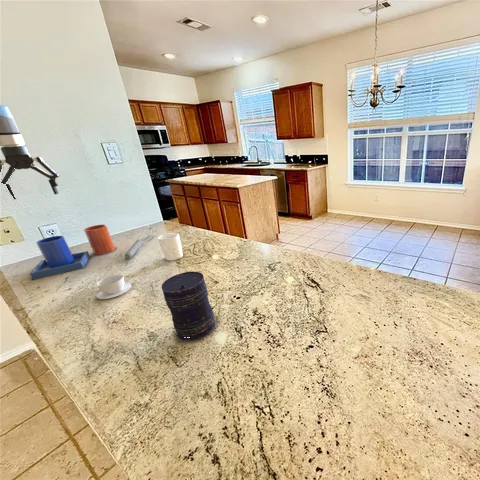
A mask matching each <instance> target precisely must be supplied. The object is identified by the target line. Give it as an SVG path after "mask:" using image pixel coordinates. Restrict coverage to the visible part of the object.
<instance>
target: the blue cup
mask: <svg viewBox="0 0 480 480" xmlns="http://www.w3.org/2000/svg"><path fill="white" fill-rule="evenodd" d="M36 245H37V247H38V249H39V251H40V253H41V255H42V257H43V260H45V261H46V263H47V264H48V266H49V268H55V267H60V266H64V265H69V264H74V263H75V260H74V258H73V256H72V254H73V253H72V252H71V249H70V247H69V245H68V243H67V241H66V238H65V237H64V235H54V236H49V237H45V238H42V239H39V240H38V241H36Z"/></svg>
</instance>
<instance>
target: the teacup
mask: <svg viewBox="0 0 480 480" xmlns="http://www.w3.org/2000/svg"><path fill="white" fill-rule="evenodd" d="M96 286H97V288H98V290H99V291H98V292H97V294H96V295H95V297H96V299H99V300H108V299H114V298H115V297H118V296H121V295H123V294H125V293H126V292H128V291H129V290H130V289H131V288H132V283H130V282H125V278H124V275H123V274H112V275H108V276H106V277H103V278H101V279H100V280H98V281H97V282H96Z"/></svg>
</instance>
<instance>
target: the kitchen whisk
mask: <svg viewBox="0 0 480 480" xmlns="http://www.w3.org/2000/svg"><path fill="white" fill-rule="evenodd" d="M147 228H148V229H149V230H150V231H149V232H148V234H151V232H152V233H154V232H153V231H155V233H157V232H156V230H153V229H154V226H153V227H152V226H151V224H149V225H147ZM144 230H145V229H144ZM146 232H147V229H146V230H145V231H144V232H143V233H142V231H139V233H138V235H137V236H138V237H140V238H139V239H136V241H135V242H134V243H133V244H132V245H131V246H130V248H129V249H128V250H127V251H126V252H125V253H124V255H123V258H124V259H125V260H130V259H131V258H133V256H134V255H135V253H136V252H137V251H138V250H139V248H141V246H142V245H143V243H144V242H147V241H149V240H150V239H151V238H153V237H154V234H152V235H151V236H150V237H149V235H146V238H145V239H143V238H142V237H143V236H144V235H145V233H146ZM141 233H142V234H141ZM148 237H149V238H148Z"/></svg>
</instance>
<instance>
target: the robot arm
mask: <svg viewBox="0 0 480 480" xmlns="http://www.w3.org/2000/svg"><path fill="white" fill-rule="evenodd" d="M13 134H17V135H13ZM27 147H28V146H26V143H25V141H24V138H23V136H22V134H21V132H20V130H19V128H18V126H17V123H16V121H15V118H14V117H13V115H12V113H11V111H10V109H9V108H8V106H6V105H4V104H0V151H1V153H2V155H3V156H4V159H0V172H1V169H2V165H4V163H5V164H7V165H8V166H9V167H8V170H7V171H6V173H5V175H4V176H3V177H2V179H1V180H2V182H1V183H3V184H6V182H7V181H8V179H9V178H10V176H11V175H12V173H13V172H14V173H15V171H16V170H29V169H31V170H34V171H35V172H36V173H39V174H40V175H42V176H43V177H46V178H48V183H49V184H50V187H51V189H52V192H53V194H54V195H58V194H59V190H58V189H57V187H58V186H59V184H58V182H57V180H56V179H57V178H59V177H60V174H59V173H58V172H56V171H55V170H54V169H53V168H52V167H51V166H50V165H49V164H48V163H46V161H44V159H43V158H42V156H36V157H32V156H31V154H30V152H29V150H28V148H27ZM34 162H36V163H39V165H41V166H42V167H43V168H44V169H45V170H44V169H42V168H40V167H39V166H37V165H36V164H35V163H34ZM4 166H5V165H4ZM14 168H15V169H16V170H15V169H14ZM14 173H13V174H14ZM12 176H13V175H12ZM12 176H11V177H12ZM10 179H11V178H10ZM6 186H7V188H8V190H9V192H8V193H9V194H10V195H12V196H13V198H14V199H13V198H12V199H13V200H17V199H16V198H15V197H14V194H13V192H12V190H11V187H10V185H9V184H6ZM12 196H11V197H12Z"/></svg>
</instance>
